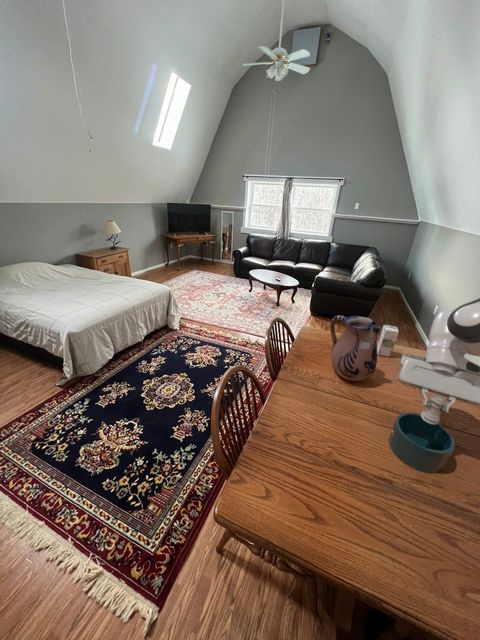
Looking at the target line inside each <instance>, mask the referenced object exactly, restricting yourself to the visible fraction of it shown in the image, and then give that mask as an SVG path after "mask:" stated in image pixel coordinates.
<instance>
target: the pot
mask: <svg viewBox="0 0 480 640" xmlns="http://www.w3.org/2000/svg"><path fill="white" fill-rule="evenodd" d="M388 445H389V448H390V449H391V451H392V453H393V454H394V455H395V456H396V457H397V458H398V459H399V460H400V461H401V462H402V463H404V464H405V465H407V466H408V467H410V468H412V469H414V470H416V471H419V472H422V473H428V474H436V473H439V472H441V471H442V470H444V467H445V466H446V464H447V462H448V460H449V458H450V457H451V455H452V453H453V452H454V450H455V447H456V446H455V445H456V442H455V440H454V438H453V436H452V434H451V433H450V432H449V430H447V429H446V428H445V427H444V426H443V425H441V424H440V422H439V423H438V424H436V425H432V424H429V423H426V422H425V421H424V420H423V419H422V417H421V414H420V413H419V414H418V413H415V412H404V413H400V414H399V415H397V416H396V418H395V421H394V424H393V425H392V428H391V431H390V434H389V437H388Z"/></svg>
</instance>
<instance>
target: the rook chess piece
mask: <svg viewBox="0 0 480 640" xmlns="http://www.w3.org/2000/svg"><path fill="white" fill-rule="evenodd" d="M430 399H431V400H430V401H431V403H430V407H426V408H425V409H424V410H422V412H421V413H420V415H421V417H422V419H423V420H424V421H425V422H426V423H429V424H432V425H436V424H438V423H439V424H440V421H441V417H440V412H441V411H440V409H441V408H442V405H446V399H445V396H441V395H439V394H434V395H433V396H431V397H430Z"/></svg>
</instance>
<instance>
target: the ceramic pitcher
mask: <svg viewBox="0 0 480 640" xmlns="http://www.w3.org/2000/svg"><path fill="white" fill-rule="evenodd" d="M336 321H341V322H342V323H343V324H344V327H345V329H344V330H343V332H342V334H341V335H339V337H338V338H337V333H336V329H335V322H336ZM329 331H330V336H331V341H332V346H331V355H330V362H331V366H332V368H333V370H334V371H335V372H336V373H337V375H339V376H340V377H342V378H343V379H345V380H348V381H352V382H359V381H363V380H366V379H368V378H369V377H370V376H372V375H373V373H374V372H375V370H376V367H377V364H378V354H377V345H378V337H379V336H378V335H379V333H380V332H381V331H382V327H381V326H379V325H378V324H374V320H373V319H371V318H370V317H364V316H359V315H358V316H357V315H352V316H344V315H335V316H334V317H332V319H331V320H330V324H329Z"/></svg>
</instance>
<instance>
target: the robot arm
mask: <svg viewBox="0 0 480 640" xmlns="http://www.w3.org/2000/svg"><path fill="white" fill-rule="evenodd" d="M428 340H429V344H428V346H427V347H426V351H425V356H424V357H423V356H420V355H415V354H411V353H407V354H403V355H402V356H401V358H400V362H399V363H400V366H401V367H400V369H399V372H398V375H397V381H398V383H399V384H402V385H405V386H409V387H411V388H416V389H418V390H419V394H420V396H421V399H422V404H421V405H422V407H426V408H428V407H430V403H431V401H432V400H430V399H428V396H427V394H428V393H432V394H434V395H436V394H437V395H440V396H441V397H444V398H445V397H446V401H447V403H445V404H444V405H442V408H441V409H440V411H439V412H441V413H444V414H449V411H450V407H451V406H452V405H454V403H456V401H459V402H462V403H466V404H469V405H473V406H475V407H478V406H480V365H479V364H477V363H474V362H473V361H471V360H469V359H467V358H465V355H470V356H473V357H474V356H476V357H480V297H479V298H477V299H474V300H471V301H469V302H465V303H463V304H461V305H459V306H458V307H456V308H455V309H446V310H442V311H440V312H438V313H437V314H436V316H435V317H434V318H433V321H432V323H431V327H430V331H429V335H428Z"/></svg>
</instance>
